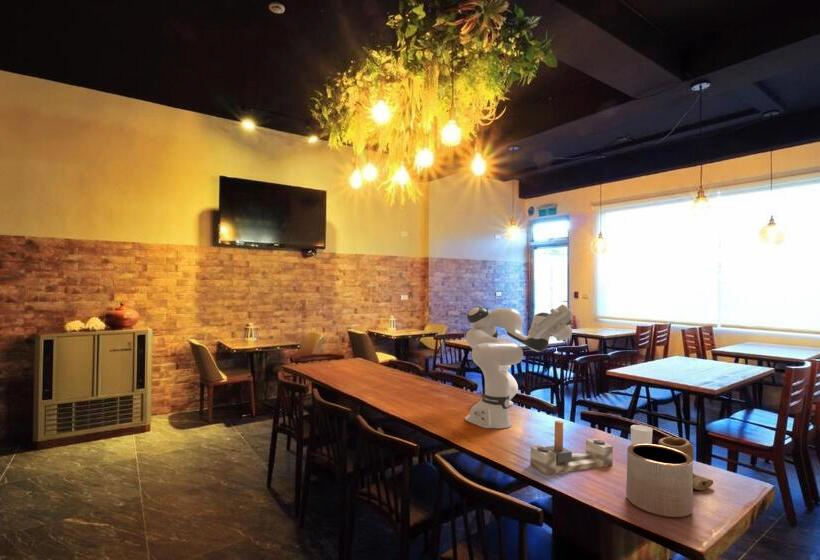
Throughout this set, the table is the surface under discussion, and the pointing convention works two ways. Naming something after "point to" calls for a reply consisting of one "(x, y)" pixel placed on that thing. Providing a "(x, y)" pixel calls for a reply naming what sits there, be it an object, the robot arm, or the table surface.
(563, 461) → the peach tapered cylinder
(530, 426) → the table surface
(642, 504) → the planter
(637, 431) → the white cup
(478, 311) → the robot arm
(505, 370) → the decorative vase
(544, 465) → the rail track
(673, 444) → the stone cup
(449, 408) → the table surface
